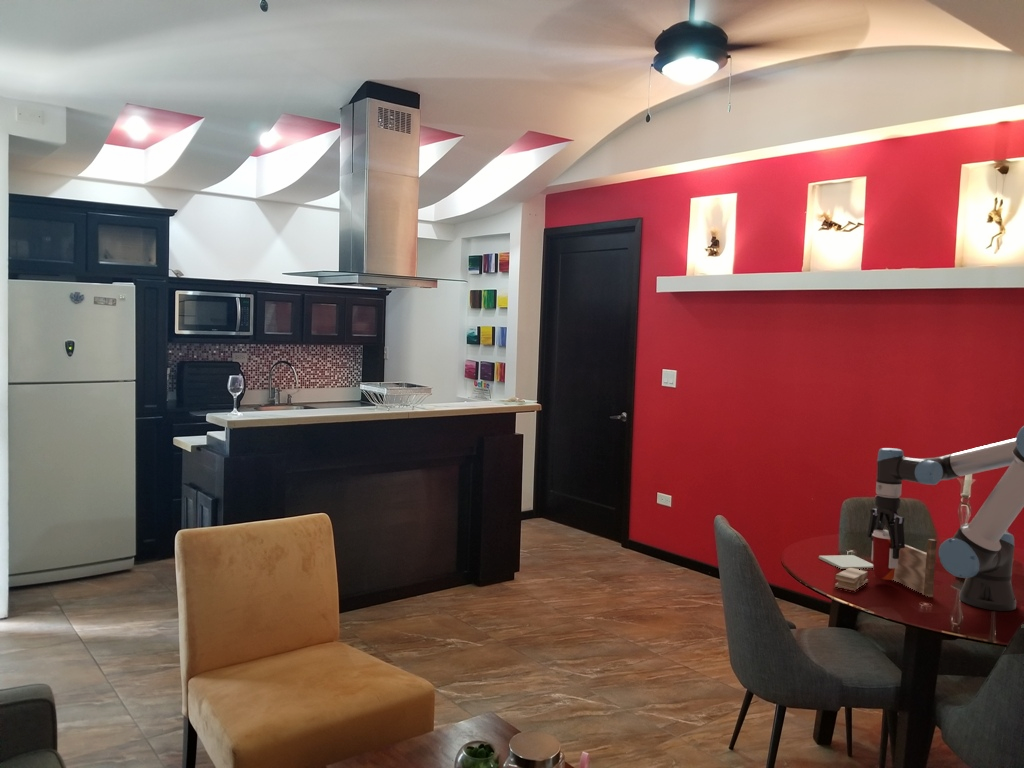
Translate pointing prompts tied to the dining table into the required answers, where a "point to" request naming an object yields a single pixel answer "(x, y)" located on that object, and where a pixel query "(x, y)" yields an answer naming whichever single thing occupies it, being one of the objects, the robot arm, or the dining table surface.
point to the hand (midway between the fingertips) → (884, 564)
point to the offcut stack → (851, 578)
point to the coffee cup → (882, 555)
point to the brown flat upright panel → (917, 568)
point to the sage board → (846, 561)
